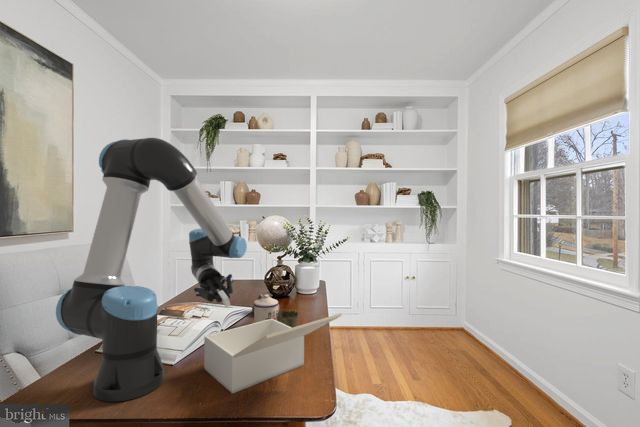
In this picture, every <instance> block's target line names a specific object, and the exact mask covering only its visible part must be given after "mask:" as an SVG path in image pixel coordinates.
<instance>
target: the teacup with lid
mask: <svg viewBox="0 0 640 427" xmlns="http://www.w3.org/2000/svg"><path fill="white" fill-rule="evenodd" d="M263 296H264V297H262V298H261V299H258V298H257V299H258V300H257V299H256V300H254V302H253V306H254V312H253V313H254V314H253V317H254V318H253V323H257V322H261V321H265V320H269V319H274V320H276V321H277V315H276V313H278V314H279V312H280V309H279V308H280V304H279V301H278V300H277V299H275V298H272V297H271V296H270V295H269V294H268V293H267V294H263Z"/></svg>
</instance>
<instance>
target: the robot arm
mask: <svg viewBox="0 0 640 427" xmlns="http://www.w3.org/2000/svg"><path fill="white" fill-rule="evenodd" d="M98 165H99V168H100V170H101V172H102V174H103V176H102V182H103V184H105V186H106V190H105V193H104V197H103V200H102V202H101V203H102V204H101V208H100V211H99V215H98V218H97V223H96V225H95V229H94V233H93V237H92V240H91V244H90V247H89V251H88V255H87V258H86V262H85V266H84V270H83V273H82V274H81V275H79V276H78V277H76V278H74V280H73V284H72V287H71V288H69V289H67V290H66V292H65V293H63V294H62V295H61V296H60V297H59V300H58V301H57V304H56V307H55V316H56V320H57V322H58V324H59V325H60V326H61V327H62V328H63V329H65V330H67V331H68V332H71V333H73V334H74V335H75V334H76V335H80V336H87V337H90V338H96V339H100V340H101V341H102V359H101V362H100V365H99V367H98V371H97V373H96V376H95V379H94V382H93V396H94V397H95V399H97V400H99V401H103V402H111V403H113V402H114V403H115V402H116V403H117V402H124V401H129V400H134V399H137V398H140V397H143V396H145V395H147V394H150V393H151V392H153V391H155V390H156V389H157V388H159V387H160V386H161V385H162V384H163V383H164V381H165V367H164V365H163V362H162V360H161V357H160V354H159V351H158V344H157V343H158V309H159V306H158V301H157V300H158V299H157V294H156V292H155V291H154V290H152V289H151V288H148V287H144V286H140V285H135V286H132V285H126V283H125V281H124V280H123V279H122V273H123V269H124V264H125V260H126V257H127V254H128V249H129V245H130V241H131V236H132V231H133V228H134V226H135V222H136V216H137V212H138V208H139V204H140V200H141V198H142V197H141V196H142V194H144V193H147V192H148V191H149V188H150V184H151V181H157V182H160V183H161V184H162V185H163V186H164V187H165V188H166V189H167V191H170V192H173V193H174V194H175V196H177V198H178V199H179V201H180V202H181V203H182V204H183V206H184V208H186V210H187V211H188V212H189V214H190V215H191V216H192V218H193V220H194V221H195V222H196V223H197V225H198V226H199V227H200V228H197V229H192V230H191V231H189V234H188V239H189V240H188V244H189V248H190V249H189V250H190V256H191V266H190V269H191V273H192V275H193V276H194V278H195V279H196V280H197V282H198V285H199V287H195V288H193V290H194V294H195V296H196V297H200V298H202V299H204V300H205V301H207V302H210V303H212V302H213V301H214V300H215V301H216V303H217V304H219V303H222V304H223V306H224V307H225V308H228V307H231V300H230V298H231V294H233V293H234V291H233V290H234V289H233V283H234V278H233V274H232V273H229V274H228V275H227V276H225V275H222V274H221V273H220V272H219V270H218V269H217V268H216V267H215V266H214V257H219V258H229V259H240V258H242V257H244V255H245V254H246V251H247V249H248V246H247V245H248V244H247V241H246V239H245V238H244V237H242V236H238V235H237V236H236V235H235V234H234V233H233V231H232V230H231V228H230V227H229V225H228V224H227V222H226V220H225V218H223V216H222V214H221V213H220V211H219V210H218V208H217V207H216V205H215V204H214V202H213V201H212V199H211V198H210V196H209V195H208V193H207V192H206V190H205V189H204V187H203V186H202V184H201V183H200V181H199V179H198V172H197V170H196V168H195V167H194V166H193V164H192V163H191V161H190V160H189V159H188V158H187V157H186V156H185V155H184V154H183V153H182V151H180V149H178V148H176V147H175V146H174V145H173V144H171V143H170V142H168V141H166V140H164V139H160V138H158V137H144V138H136V139H134V138H133V139H120V140H116V141H112V142H110V143H108V144H107V145H105V146H104V147H103V148H102V149H101V151H100V153H99V157H98ZM225 283H226V286H225V285H224V284H225Z"/></svg>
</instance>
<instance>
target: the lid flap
mask: <svg viewBox="0 0 640 427" xmlns="http://www.w3.org/2000/svg"><path fill="white" fill-rule="evenodd" d="M342 315H343V314H342V313H337V314H334V315H330V316H328V317H323V318H320V319H317V320H313V321H310V322H307V323H303V324H301V325H296V327H293V328H289V329H286V330H282V331H279V332H276V333H272V334H269V335H266V336H264V337H263V338H261V339H259V340H258V341H256V342H254V343H253V344H251V345H250V346H248V347H246V348H245V349H243V350H242V351H240V352H238V353H237V354H235V355H233V356H234V358H236V357H239V356H242V355H245V354H248V353H251V352H254V351H258V350H261V349H264V348H267V347H270V346H273V345H276V344H279V343H282V342H285V341H288V340H292V339H295V338H298V337H301V336H304V337H305V336H307V335H308V334H310V333H312V332H314V331H316V330H318V329H319V328H321V327H323V326H325V325H327V324H328V323H331V322H333V321H335V320H336V319H339V318H340V317H342Z"/></svg>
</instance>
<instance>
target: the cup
mask: <svg viewBox="0 0 640 427" xmlns="http://www.w3.org/2000/svg"><path fill="white" fill-rule="evenodd" d="M276 315H277V321H278V322H281V323H283V324H285V325H287V326H289V327H291V328H293V327H296V326H298V324H297V323H298V320H299V317H298V316H299V312H298V311H295V310H293V309H292V310H290V311H289V309H287V311H286V310H285V309H283V310H279V312H278V313H276Z"/></svg>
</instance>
